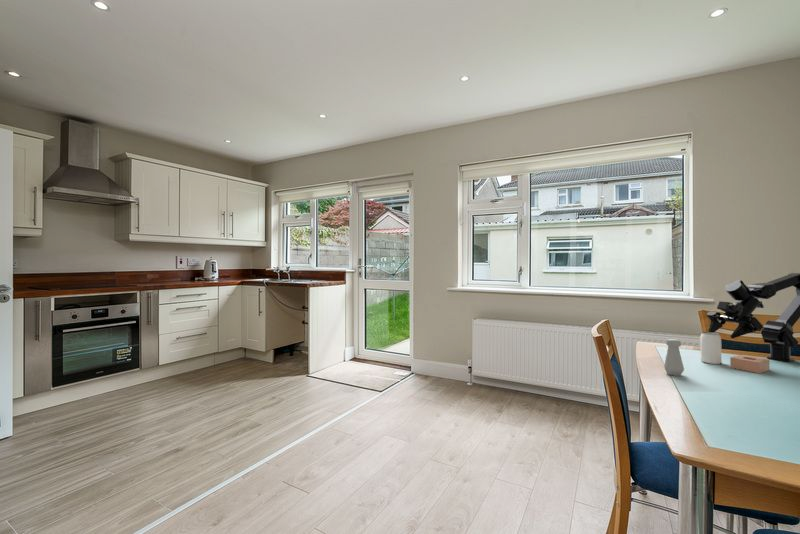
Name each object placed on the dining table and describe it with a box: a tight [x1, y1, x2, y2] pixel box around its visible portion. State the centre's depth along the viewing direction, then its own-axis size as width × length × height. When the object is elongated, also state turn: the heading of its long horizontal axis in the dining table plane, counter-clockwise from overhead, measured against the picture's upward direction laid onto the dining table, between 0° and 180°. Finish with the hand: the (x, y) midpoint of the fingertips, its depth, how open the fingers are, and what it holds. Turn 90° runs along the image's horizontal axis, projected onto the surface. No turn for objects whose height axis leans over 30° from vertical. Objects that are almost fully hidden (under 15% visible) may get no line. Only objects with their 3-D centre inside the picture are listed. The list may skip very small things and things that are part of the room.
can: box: [700, 331, 722, 365], centre depth 146 cm, size 6×6×12 cm
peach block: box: [729, 354, 771, 374], centre depth 136 cm, size 8×8×4 cm
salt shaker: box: [663, 338, 685, 377], centre depth 131 cm, size 6×6×13 cm
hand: (720, 335), depth 146 cm, fingers open, 9 cm apart
